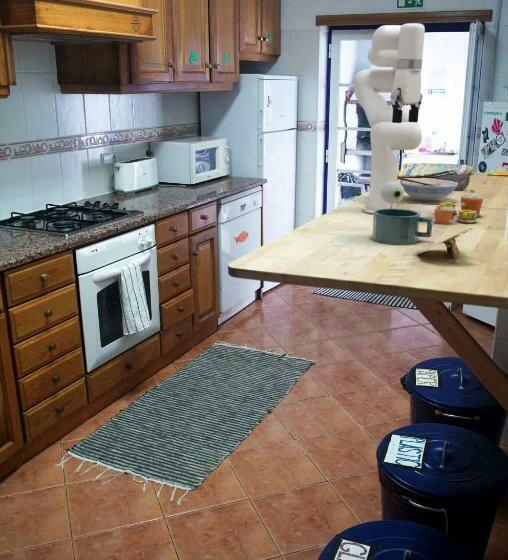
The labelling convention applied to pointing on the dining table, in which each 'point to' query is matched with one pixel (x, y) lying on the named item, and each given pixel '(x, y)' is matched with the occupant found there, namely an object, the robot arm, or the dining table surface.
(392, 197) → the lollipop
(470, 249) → the dining table surface
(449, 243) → the tan irregular piece
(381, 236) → the mug
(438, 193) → the ramen bowl
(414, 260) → the dining table surface
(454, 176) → the perforated stone tool
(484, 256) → the dining table surface
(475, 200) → the toy tea set
